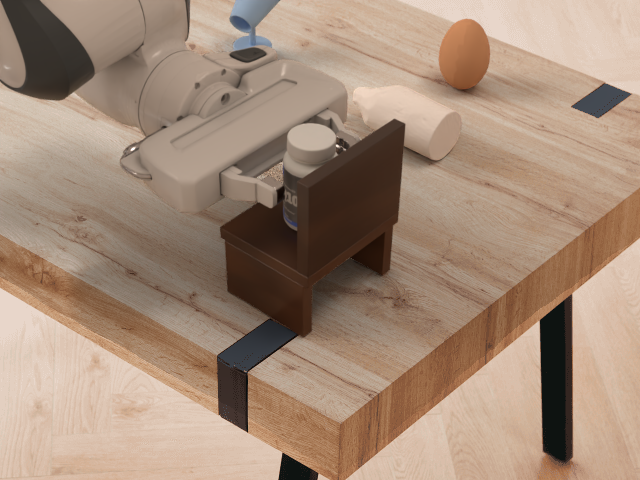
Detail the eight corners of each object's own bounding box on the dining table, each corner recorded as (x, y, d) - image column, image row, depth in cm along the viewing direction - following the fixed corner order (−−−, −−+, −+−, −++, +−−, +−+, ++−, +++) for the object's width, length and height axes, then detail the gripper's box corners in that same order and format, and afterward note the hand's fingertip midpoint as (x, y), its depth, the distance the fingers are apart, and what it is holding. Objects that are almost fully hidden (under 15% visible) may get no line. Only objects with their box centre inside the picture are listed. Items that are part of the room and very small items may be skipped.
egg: (494, 83, 124) (503, 17, 119) (472, 105, 121) (480, 38, 115) (450, 69, 126) (457, 3, 121) (427, 90, 123) (432, 23, 117)
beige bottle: (372, 104, 120) (375, 60, 116) (460, 146, 114) (465, 100, 111) (337, 126, 116) (339, 80, 112) (426, 170, 111) (430, 123, 107)
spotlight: (251, 38, 130) (221, 62, 125) (249, -41, 123) (217, -18, 118) (287, 48, 128) (258, 73, 124) (287, -32, 122) (255, -8, 117)
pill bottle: (276, 207, 93) (274, 124, 88) (327, 197, 95) (329, 116, 89) (292, 239, 90) (292, 156, 85) (345, 229, 91) (348, 146, 86)
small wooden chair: (223, 288, 96) (213, 137, 85) (312, 227, 103) (313, 80, 92) (307, 340, 91) (308, 187, 81) (394, 272, 98) (405, 123, 88)
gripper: (103, 127, 86) (226, 196, 80) (276, 37, 99) (395, 91, 92) (112, 190, 90) (230, 261, 84) (277, 97, 103) (391, 152, 97)
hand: (318, 171), depth 88 cm, fingers open, 8 cm apart
